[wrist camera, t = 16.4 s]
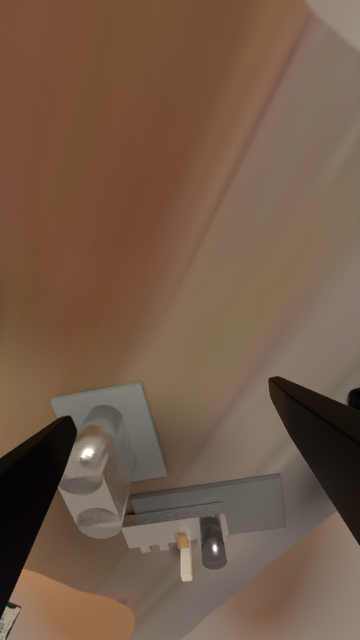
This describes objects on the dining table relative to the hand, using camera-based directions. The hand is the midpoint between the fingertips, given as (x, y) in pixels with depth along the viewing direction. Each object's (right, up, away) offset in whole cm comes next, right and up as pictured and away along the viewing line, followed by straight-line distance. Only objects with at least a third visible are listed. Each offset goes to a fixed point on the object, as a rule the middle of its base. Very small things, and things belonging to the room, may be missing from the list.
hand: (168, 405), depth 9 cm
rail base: (+4, -21, +17) cm, 28 cm away
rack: (0, -23, +17) cm, 29 cm away
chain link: (-7, -10, +14) cm, 18 cm away
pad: (-7, -10, +14) cm, 19 cm away
